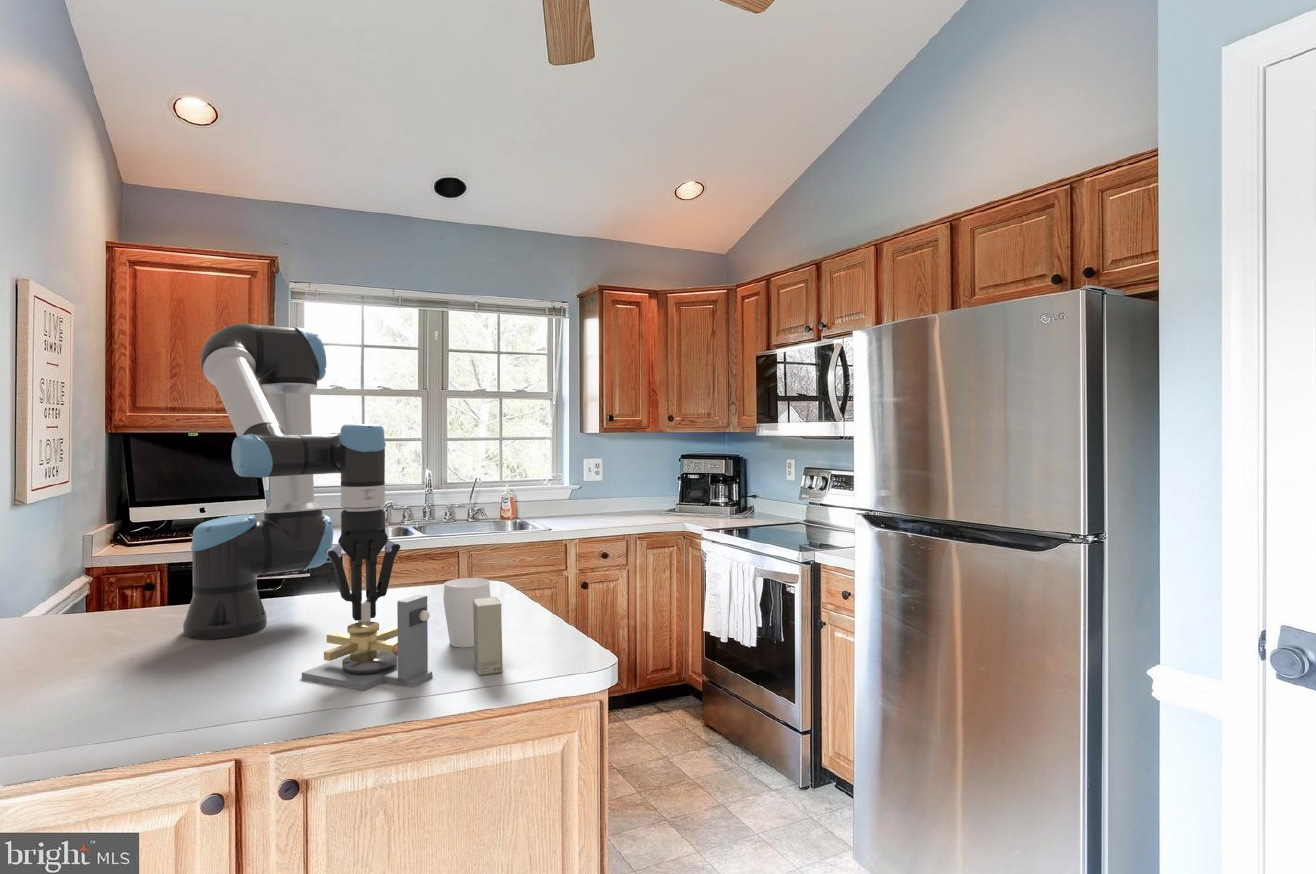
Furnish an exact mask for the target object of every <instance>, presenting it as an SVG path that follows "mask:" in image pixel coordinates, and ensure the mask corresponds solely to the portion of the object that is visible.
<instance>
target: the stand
mask: <svg viewBox="0 0 1316 874" xmlns="http://www.w3.org/2000/svg"><path fill="white" fill-rule="evenodd" d="M396 606H397V608H396V609H397V611H396V613H397V618H396V619H397V628H398V636H397V643H398V656H397V660H398V662H397V665H396V666H394V667H393V668H391V669H388V670H385V671H382V672H377V673H370V674H352V673H347V672H345V671H343V669H342V661H343V659H344V658H346V657H348V656H350V654H348V655H346V656H343V657H340V658H337V659H335V660H332V661H328V662H327V663H323V664H320V665H318V666H316V667H313V668H310V669H308V670H304V671H302V672H301V679H303V680H308V681H313V682H318V683H323V684H328V685H333V686H339V687H344V688H348V689H352V690H353V689H354V690H360V691H363V692H364V691H366V690H369V689H371V688H373V687H375V686H378V685H380V684H382V683H388V684H389V683H390V684H395V685H400V686H405V687H411V688H412V687H414V686H415V687H416V686H417V685H419V684H421V683H423V682H425V681H428V680H430V679H431V678H433V671H432V670H429V666H428V662H429V661H428V660H429V659H428V656H429V655H428V654H429V653H428V652H429V651H428V648H429V647H428V644H429V643H428V634H429V633H428V620H429V619H430V617H431V614H430V612H429V611H428V595H423V594H416V595H415V594H414V595H413V596H409V597H407V598H403V599H401V600H397V605H396Z"/></svg>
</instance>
